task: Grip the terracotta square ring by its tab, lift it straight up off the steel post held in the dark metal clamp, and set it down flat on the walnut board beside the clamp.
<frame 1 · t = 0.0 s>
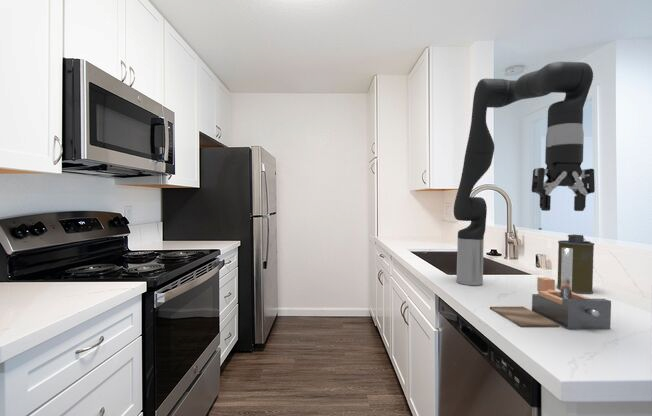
hand: (562, 210, 80), 29 cm above the countertop, tool pointing down, fingers open, 8 cm apart
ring: (565, 299, 88), point 5 cm above the countertop, touching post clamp
board: (521, 317, 88), on the countertop
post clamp: (565, 318, 88), on the countertop
canister: (574, 290, 117), on the countertop
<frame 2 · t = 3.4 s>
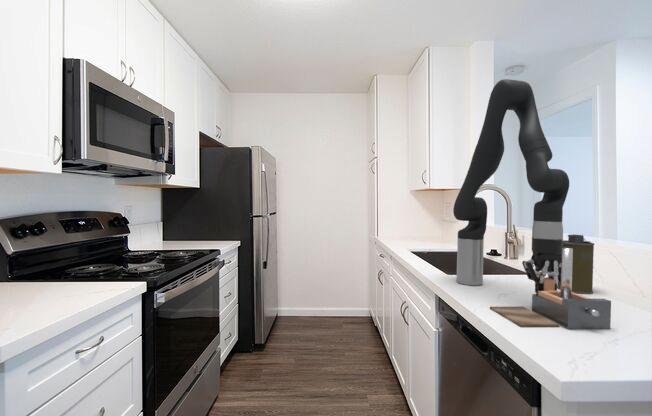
hand: (545, 295, 95), 4 cm above the countertop, tool pointing down, fingers closed on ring, 3 cm apart
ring: (565, 299, 88), point 5 cm above the countertop, touching gripper, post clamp
everything else where it was.
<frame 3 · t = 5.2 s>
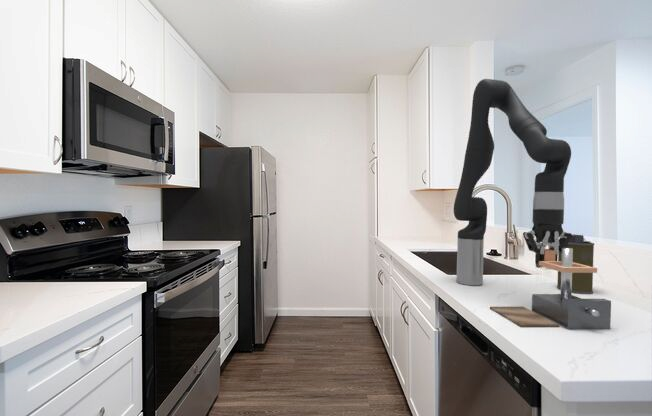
hand: (546, 266, 95), 13 cm above the countertop, tool pointing down, fingers closed on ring, 3 cm apart
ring: (566, 268, 88), point 13 cm above the countertop, touching gripper
everything else where it was.
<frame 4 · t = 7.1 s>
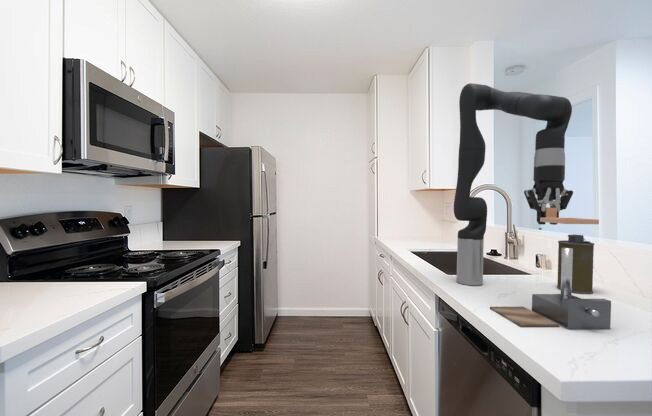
hand: (547, 224, 95), 25 cm above the countertop, tool pointing down, fingers closed on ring, 3 cm apart
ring: (568, 222, 87), point 26 cm above the countertop, touching gripper
everything else where it was.
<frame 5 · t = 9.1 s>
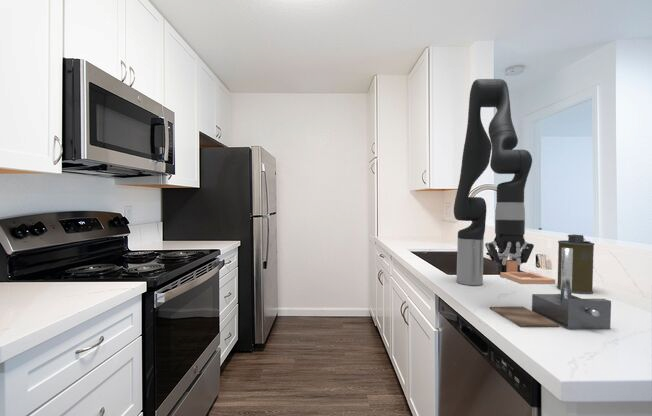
hand: (508, 277, 94), 9 cm above the countertop, tool pointing down, fingers closed on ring, 3 cm apart
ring: (526, 280, 87), point 10 cm above the countertop, touching gripper
everything else where it was.
when the fingers open (2 cm above the countertop, at t = 10.7 s): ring drops 2 cm, resting on board.
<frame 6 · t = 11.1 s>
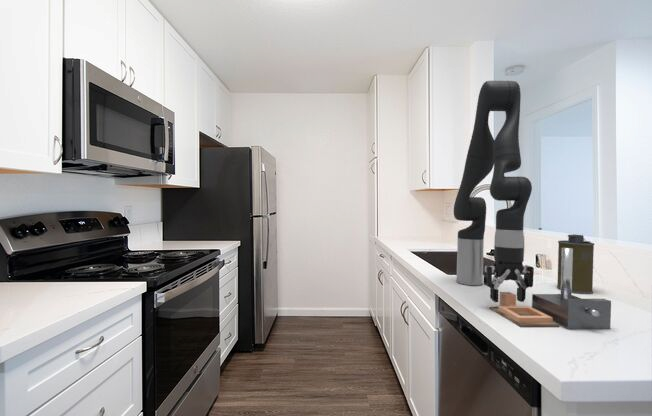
hand: (507, 301, 95), 2 cm above the countertop, tool pointing down, fingers open, 7 cm apart
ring: (524, 316, 87), point 1 cm above the countertop, touching board
everything else where it was.
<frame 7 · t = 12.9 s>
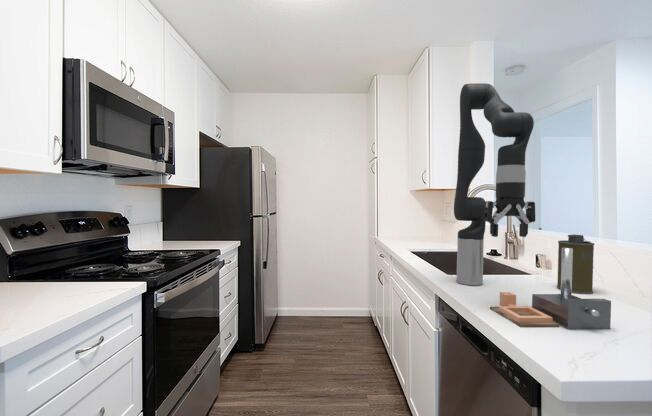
hand: (508, 236, 95), 21 cm above the countertop, tool pointing down, fingers open, 8 cm apart
nothing on the countertop moved.
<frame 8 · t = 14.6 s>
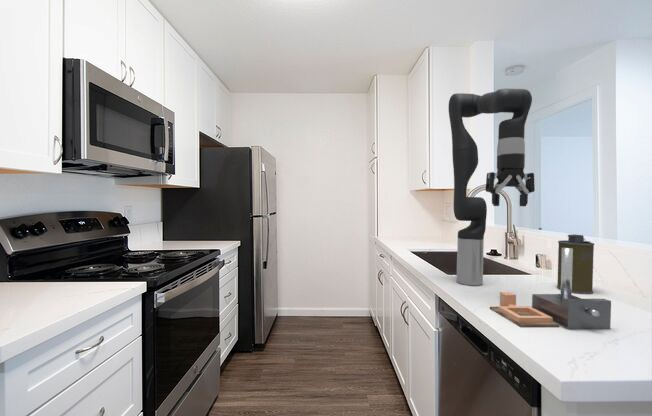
hand: (509, 206, 101), 30 cm above the countertop, tool pointing down, fingers open, 8 cm apart
nothing on the countertop moved.
at the end: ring inside the target area on the board (0.4 cm from its centre), point 0.6 cm above the board's base; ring tilted 0°; the gripper is holding nothing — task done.
